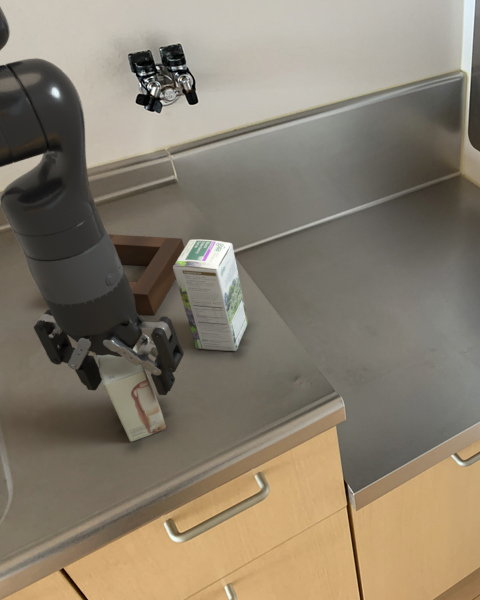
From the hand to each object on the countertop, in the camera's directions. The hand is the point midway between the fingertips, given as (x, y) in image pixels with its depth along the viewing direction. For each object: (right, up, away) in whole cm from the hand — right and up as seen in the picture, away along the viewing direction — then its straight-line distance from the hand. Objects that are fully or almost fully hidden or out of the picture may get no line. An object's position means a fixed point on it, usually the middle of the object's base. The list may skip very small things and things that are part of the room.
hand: (130, 387), depth 70 cm
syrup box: (+6, +5, +15) cm, 17 cm away
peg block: (-11, +13, +24) cm, 29 cm away
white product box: (0, -5, +4) cm, 6 cm away
